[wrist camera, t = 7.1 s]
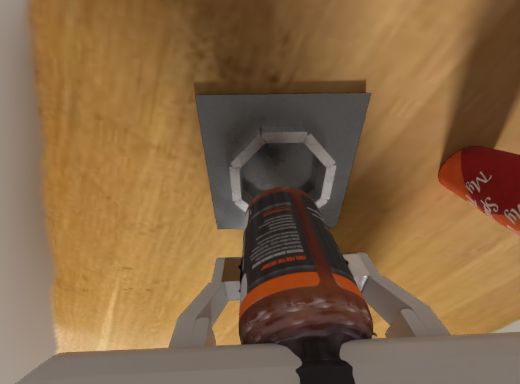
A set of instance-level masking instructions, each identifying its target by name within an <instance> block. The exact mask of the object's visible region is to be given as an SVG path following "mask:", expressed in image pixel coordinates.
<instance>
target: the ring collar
mask: <svg viewBox="0 0 520 384" xmlns="http://www.w3.org/2000/svg"><path fill="white" fill-rule="evenodd" d="M370 96H371V93H295V94H217V95H195V98H196V104H197V110H198V116H199V122H200V128H201V133H202V139H203V145H204V151H205V157H206V163H207V169H208V175H209V181H210V187H211V193H212V199H213V205H214V211H215V217H216V223H217V229H244V220H245V214H246V210H247V208H248V206H249V204H250V203H251V201H252V200H253V199H254V198H255V197H256V196H258V195H259V194H260V193H262V192H264V191H267V190H269V189H272V188H277V187H291V188H295V189H298V190H301V191H303V192H305V193H306V194H307V195H309V196H310V197H311V198H312V200H313V201H314V203H315V204H316V206H317V207H318V209H319V211H320V213H321V215H322V217H323V219H324V221H325V223H326V225H327V227H337V223H338V219H339V215H340V212H341V208H342V204H343V200H344V196H345V192H346V189H347V185H348V181H349V177H350V173H351V169H352V165H353V162H354V158H355V154H356V150H357V146H358V142H359V139H360V135H361V131H362V127H363V123H364V119H365V116H366V112H367V108H368V104H369V100H370Z"/></svg>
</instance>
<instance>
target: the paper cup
mask: <svg viewBox="0 0 520 384" xmlns="http://www.w3.org/2000/svg"><path fill="white" fill-rule="evenodd" d="M438 178H439V181H440V183H441V184H442V185H443V186H445V187H446V188H447V189H449V190H450V191H452V192H453V193H455V194H456V195H458V196H459V197H461V198H462V199H464V200H465V201H467V202H468V203H470V204H471V205H473V206H474V207H476V208H477V209H479V210H480V211H482V212H483V213H485V214H486V215H488V216H489V217H491V218H492V219H494V220H495V221H497V222H498V223H500V224H502V225H503V226H505V227H506V228H508V229H509V230H511V231H512V232H514V233H515V234H517V235H518V236H520V155H518V154H513V153H509V152H505V151H500V150H495V149H491V148H486V147H480V146H472V147H467V148H464V149H462V150H460V151H458V152H456V153H455V154H453V155H452V156H450V157H449V158H448V159H447V160H446V161H445V162H444V164H443V165H442V167H441V169H440V171H439V175H438Z"/></svg>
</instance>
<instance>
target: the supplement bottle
mask: <svg viewBox="0 0 520 384" xmlns="http://www.w3.org/2000/svg"><path fill="white" fill-rule="evenodd" d="M372 335H373V322H372V317H371V314H370V311H369V309H368V306H367V304H366V302H365V300H364V298H363V296H362V294H361V292H360V290H359V288H358V286H357V284H356V281H355V280H354V278H353V276H352V274H351V272H350V270H349V268H348V266H347V264H346V262H345V260H344V258H343V256H342V254H341V252H340V250H339V248H338V246H337V244H336V242H335V240H334V238H333V236H332V235H331V233H330V231H329V229H328V227H327V225H326V223H325V221H324V219H323V217H322V215H321V213H320V211H319V209H318V207H317V206H316V204H315V203H314V201H313V200H312V198H311V197H310V196H309V195H307V194H306V193H305V192H303V191H301V190H298V189H295V188H291V187H277V188H272V189H269V190H267V191H264V192H262V193H260V194H259V195H258V196H256V197H255V198H254V199H253V200H252V201H251V203H250V204H249V206H248V208H247V210H246V214H245V220H244V236H243V255H242V274H241V292H240V313H239V336H240V341H241V344H242V345H243V344H265V343H274V344H279V345H282V346H285V347H287V348H289V349H290V350H291V351H292V352H293V353H294V354H295V355H296V356H297V357H298V358H300V360H301V361H302V365H301V366H300V367H299V368H297V369H296V371H295V372H296V373H297V374H298V376H299V378H300V384H355V380H354V378H353V367H352V366H351V365H350V364H349V363H348V362H347V361H344V360H342V359H341V358H340V349H341V346H342V344H344V343H346V342H348V341H351V340H356V339H371V338H372Z"/></svg>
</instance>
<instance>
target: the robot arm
mask: <svg viewBox="0 0 520 384" xmlns="http://www.w3.org/2000/svg"><path fill="white" fill-rule="evenodd" d="M341 254H342V256H343V258H344V260H345V262H346V264H347V266H348V268H349V270H350V272H351V274H352V276H353V278H354V280H355V281H356V284H357V286H358V288H359V290H360V292H361V294H362V296H363V298H364V300H365V301H366V302H367V303H368V304H369V305H370V306H371V307H372V308H373V309H374V310H375V311H376V312H377V313H378V314H379V315H380V316H381V317H382V318H383V319H384V320H385V321H386V322H387V323H388V324H390V327H389V328H388V330H387V331H386V333H385V335H386V337H387V338H377V336H375V335H372V338H371V339H356V340H351V341H348V342H346V343H344V344H342V346H341V349H340V358H341V359H342V360H344V361H347V362H348V363H349V364H350V365H351V366H352V367H353V378H354V380H355V384H520V332H511V333H510V332H509V333H486V334H464V335H451V334H450V333H449V332H448V330H447V329H446V328H445V326H444V325H443V324H442V323H441V321H440V320H439V319H438V317H437V316H436V315H435V313H434V312H433V311H432V310H431V308H430V307H429V306H427V305H426V304H424V303H423V302H421V301H420V300H418V299H417V298H415V297H414V296H413V295H411V294H410V293H408V292H407V291H405V290H404V289H402V288H401V287H399V286H398V285H397V284H395V283H394V282H392V281H391V280H389V279H388V278H386V277H385V276H381V275H380V273H379V272H378V270H377V269H376V267H375V265H374V264H373V262H372V261H371V259H370V258H369V256H368V255H367V253H365V252H357V253H356V252H353V253H341ZM241 274H242V257H230V258H217V260H216V263H215V268H214V273H213V278H212V283H208V285H207V286H206V287H205V288H204V289H203V290H202V291H201V292H200V294H199V295H198V296H197V297H196V298H195V299H194V300H193V302H192V303H191V304H190V305H189V306H188V307H187V308H186V309H185V311H184V312H183V313H182V314H181V315H180V316H179V317H178V320H177V323H176V326H175V329H174V332H173V335H172V338H171V341H170V345H169V348H155V349H133V350H111V351H89V352H66V353H60V354H57V355H54V356H52V357H51V358H49V359H48V360H46V361H45V362H44V363H42V364H41V365H39V366H38V367H37V368H35V369H34V370H32V371H31V372H30V373H28V374H27V375H26V376H25V377H23V378H22V379H21V380H19V381H18V382H17V383H15V384H300V378H299V376H298V374H297V373H296V372H295V371H296V369H297V368H299V367H300V366H301V365H302V361H301V360H300V358H298V357H297V356H296V355H295V354H294V353H293V352H292V351H291V350H290V349H289V348H287V347H285V346H282V345H279V344H274V343H265V344H243V345H221V346H216V340H215V336H214V333H213V330H212V326H213V325H214V323H215V322H216V320H217V318H218V317H219V315H220V314H221V312H222V310H223V309H224V307H225V306H226V304H227V302H228V301H235V300H240V292H241Z"/></svg>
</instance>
